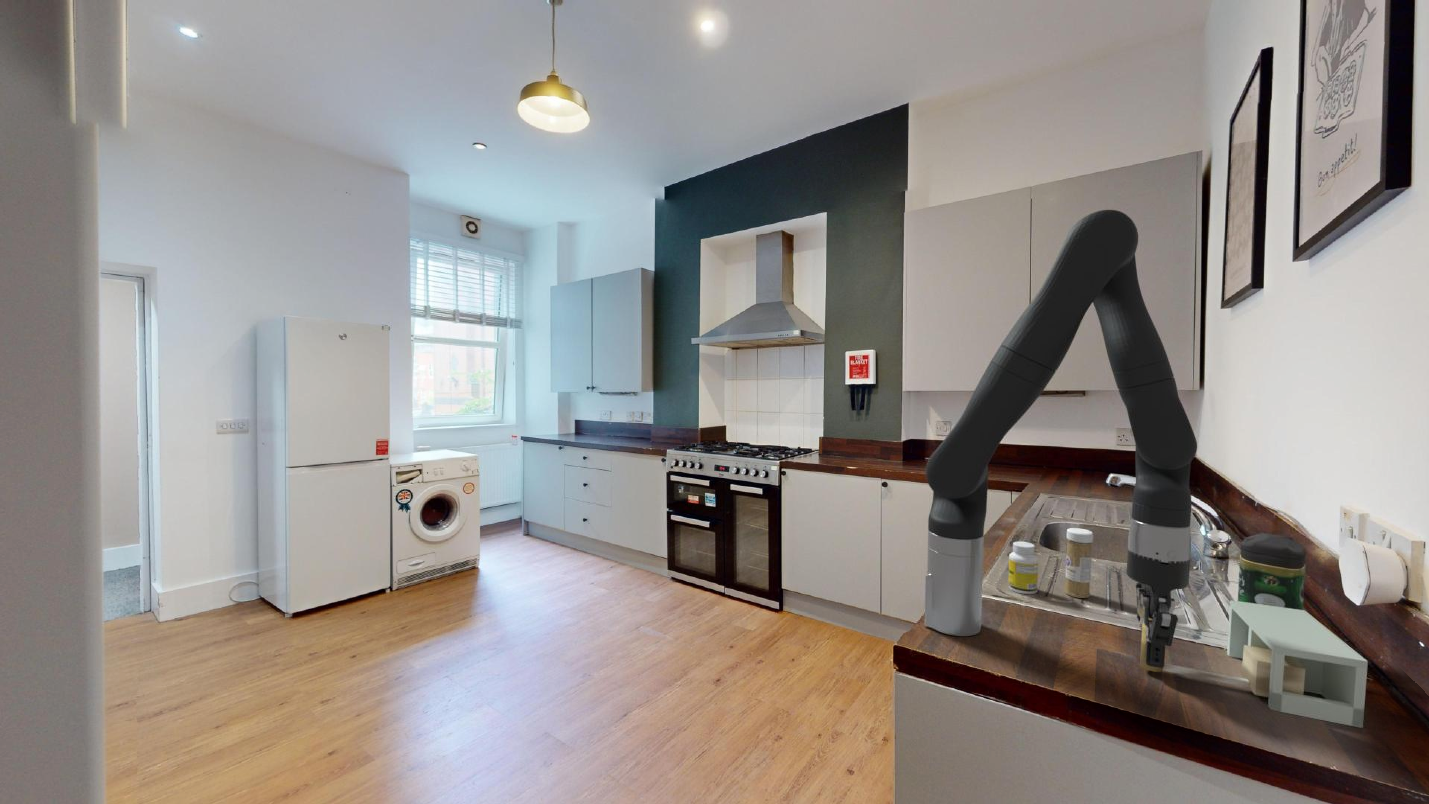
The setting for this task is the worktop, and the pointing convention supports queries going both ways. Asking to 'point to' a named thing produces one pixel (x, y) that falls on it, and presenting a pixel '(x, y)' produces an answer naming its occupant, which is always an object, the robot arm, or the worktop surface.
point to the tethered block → (1243, 670)
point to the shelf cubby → (1302, 661)
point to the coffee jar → (1272, 571)
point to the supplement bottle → (1023, 568)
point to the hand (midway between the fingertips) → (1151, 660)
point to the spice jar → (1078, 562)
